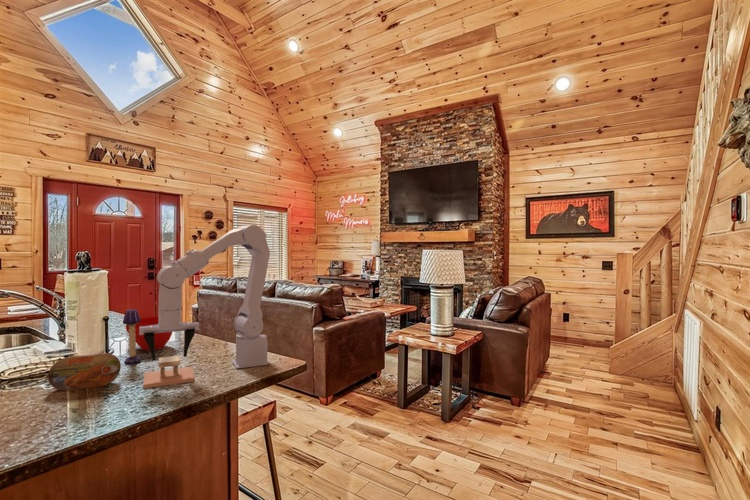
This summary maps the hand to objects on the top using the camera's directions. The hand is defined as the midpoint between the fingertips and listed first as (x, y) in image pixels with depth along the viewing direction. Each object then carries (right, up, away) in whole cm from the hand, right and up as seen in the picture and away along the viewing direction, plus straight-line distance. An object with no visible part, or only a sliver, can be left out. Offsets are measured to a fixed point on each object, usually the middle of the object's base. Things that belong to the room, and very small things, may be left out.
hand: (169, 357), depth 105 cm
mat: (0, -6, 0) cm, 6 cm away
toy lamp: (-19, -5, +12) cm, 23 cm away
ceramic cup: (-24, -5, +29) cm, 38 cm away
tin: (-18, -6, -7) cm, 20 cm away
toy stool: (0, -5, 0) cm, 5 cm away
